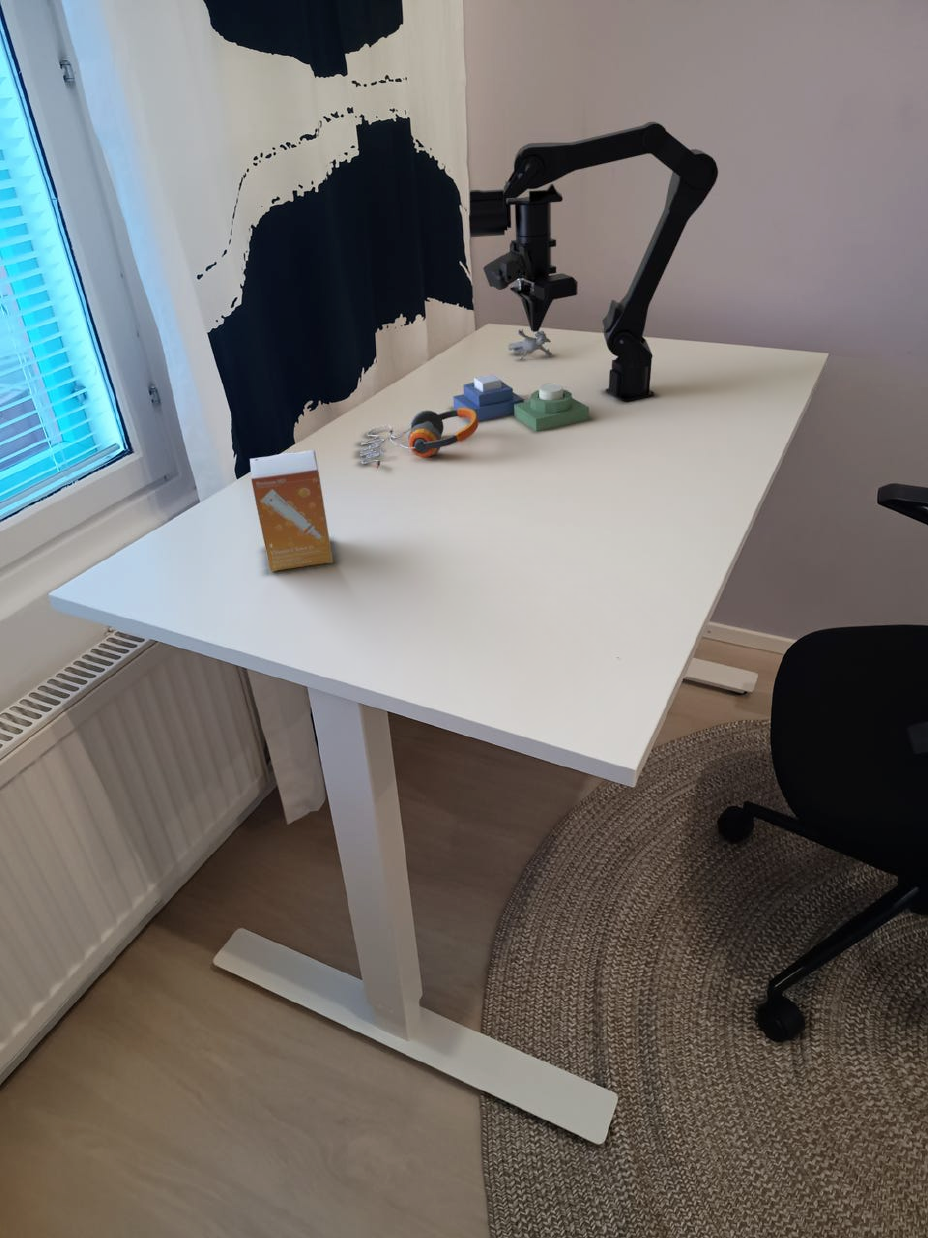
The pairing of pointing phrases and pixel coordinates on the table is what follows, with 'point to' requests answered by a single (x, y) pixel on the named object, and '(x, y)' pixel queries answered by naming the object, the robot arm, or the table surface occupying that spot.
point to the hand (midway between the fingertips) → (535, 331)
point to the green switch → (550, 411)
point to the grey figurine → (530, 344)
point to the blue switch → (488, 401)
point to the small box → (291, 510)
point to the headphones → (427, 433)
